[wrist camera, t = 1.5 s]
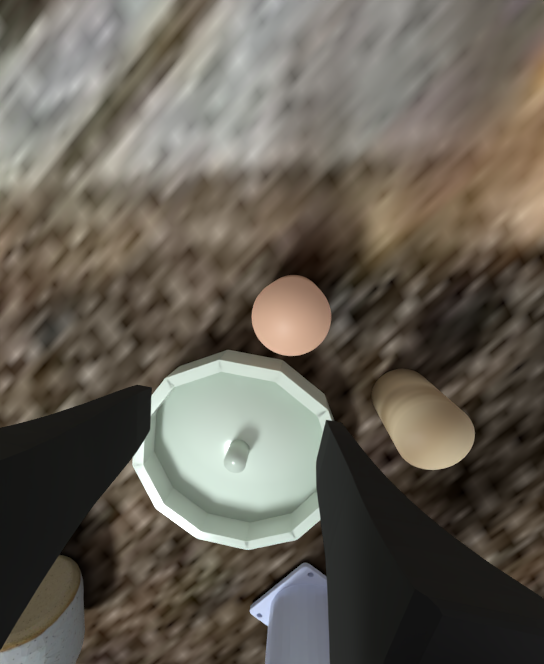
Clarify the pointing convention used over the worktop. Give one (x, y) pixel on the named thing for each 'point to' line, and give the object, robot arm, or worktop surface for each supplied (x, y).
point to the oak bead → (422, 420)
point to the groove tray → (235, 450)
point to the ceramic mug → (50, 620)
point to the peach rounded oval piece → (291, 316)
